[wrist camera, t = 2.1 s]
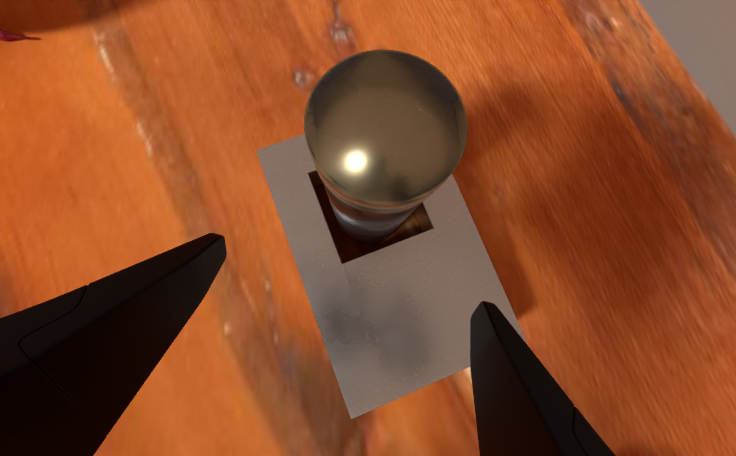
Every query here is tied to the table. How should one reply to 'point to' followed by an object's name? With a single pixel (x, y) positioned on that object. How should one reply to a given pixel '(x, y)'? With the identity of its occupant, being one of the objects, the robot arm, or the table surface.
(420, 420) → the table surface
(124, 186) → the table surface
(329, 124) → the end plug
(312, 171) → the housing block
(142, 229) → the table surface
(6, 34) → the decorative bird figurine
